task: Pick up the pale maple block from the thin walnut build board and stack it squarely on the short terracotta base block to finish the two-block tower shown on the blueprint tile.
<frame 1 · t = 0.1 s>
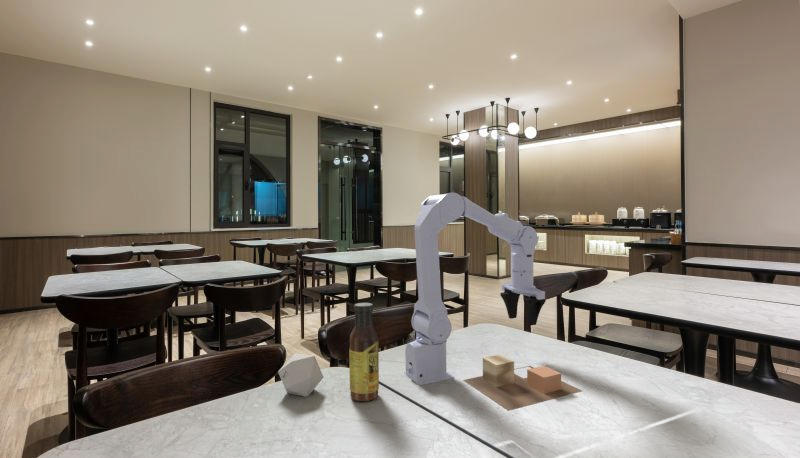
hand: (522, 321, 107), 10 cm above the table, fingers open, 7 cm apart
build board: (520, 387, 89), on the table
maple block: (498, 381, 92), resting on build board
sauce bottle: (364, 397, 86), on the table
terracotta base block: (544, 387, 88), resting on build board
die: (301, 393, 88), on the table
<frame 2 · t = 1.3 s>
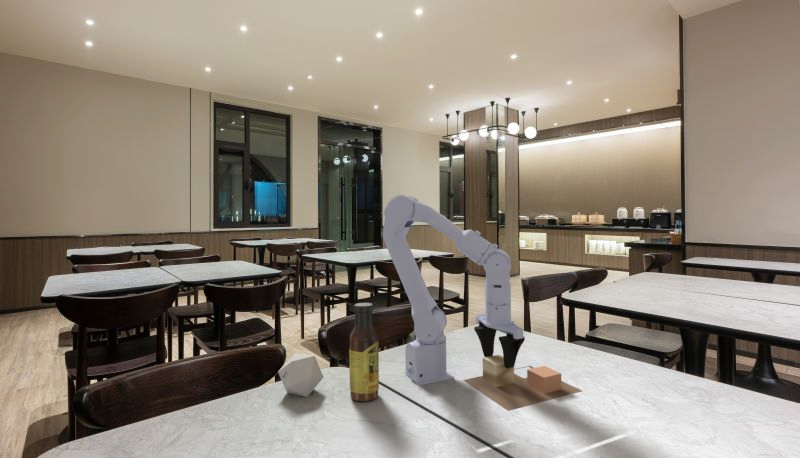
hand: (498, 361, 91), 5 cm above the table, fingers open, 7 cm apart
nothing on the table moved.
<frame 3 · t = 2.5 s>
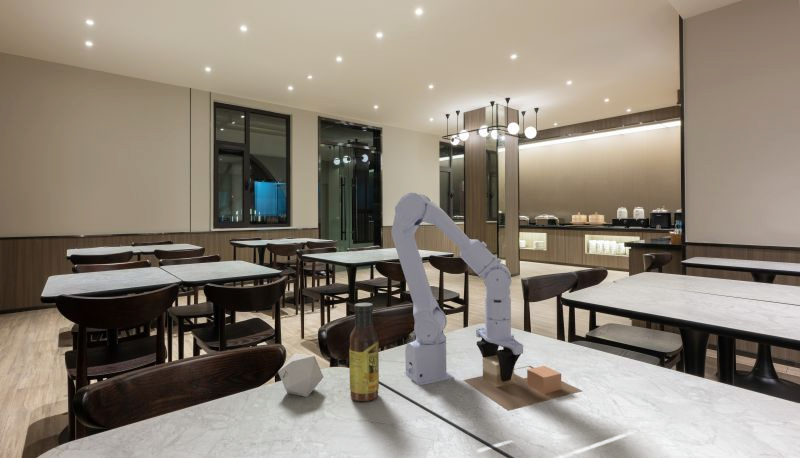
hand: (498, 375, 92), 2 cm above the table, fingers closed on maple block, 5 cm apart
maple block: (498, 381, 92), resting on build board, touching gripper
everything else where it was.
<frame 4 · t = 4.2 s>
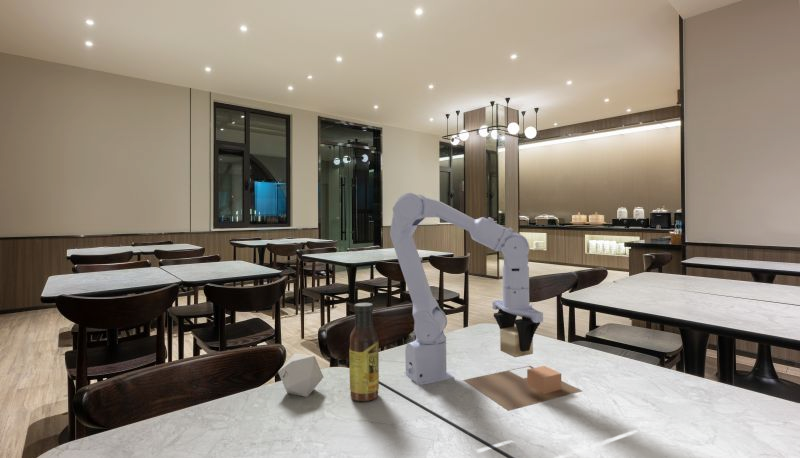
hand: (516, 346, 90), 9 cm above the table, fingers closed on maple block, 5 cm apart
maple block: (516, 352, 90), point 8 cm above the table, touching gripper
everything else where it was.
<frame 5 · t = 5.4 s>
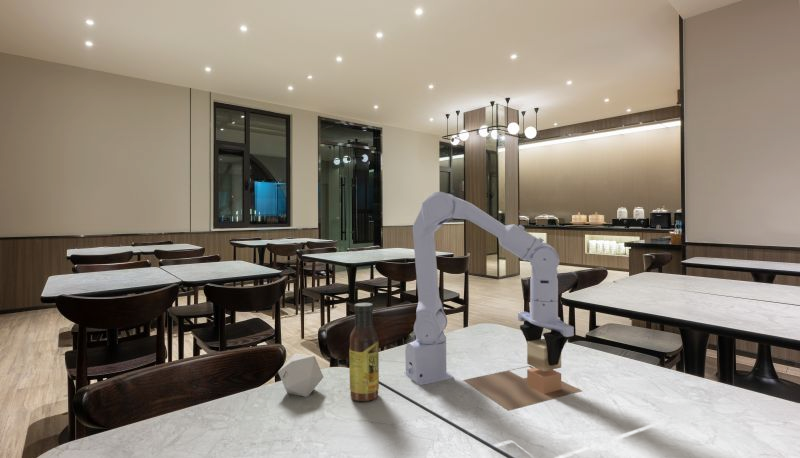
hand: (543, 360, 88), 6 cm above the table, fingers closed on maple block, 5 cm apart
maple block: (544, 365, 88), point 5 cm above the table, touching gripper
everything else where it was.
when the fingers open (6 cm above the table, at t = 5.9 s): maple block drops 1 cm, resting on terracotta base block.
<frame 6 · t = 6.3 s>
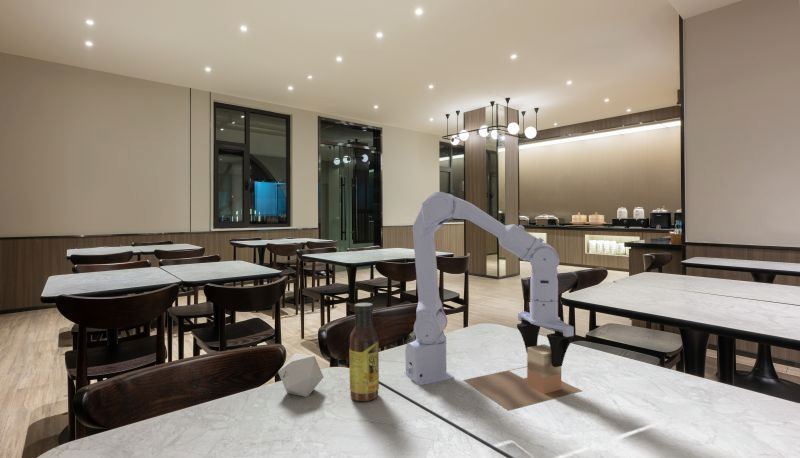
hand: (544, 360, 88), 6 cm above the table, fingers open, 7 cm apart
maple block: (544, 371, 88), point 4 cm above the table, touching terracotta base block
terracotta base block: (544, 387, 88), resting on build board, touching maple block
everything else where it was.
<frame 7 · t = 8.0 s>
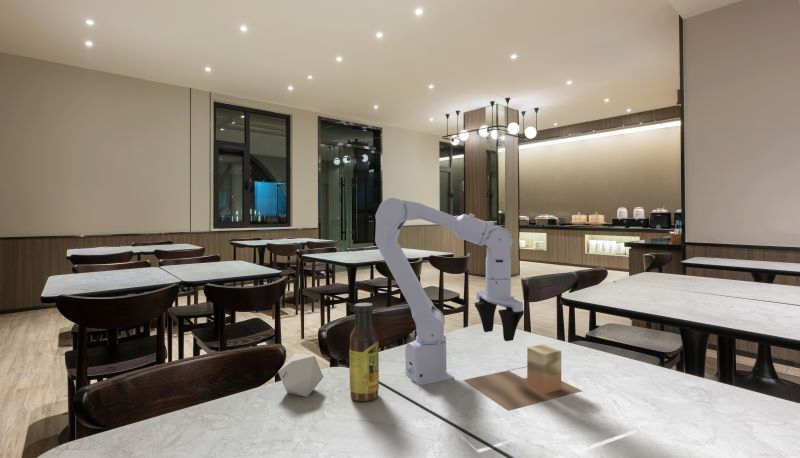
hand: (498, 335, 93), 10 cm above the table, fingers open, 7 cm apart
nothing on the table moved.
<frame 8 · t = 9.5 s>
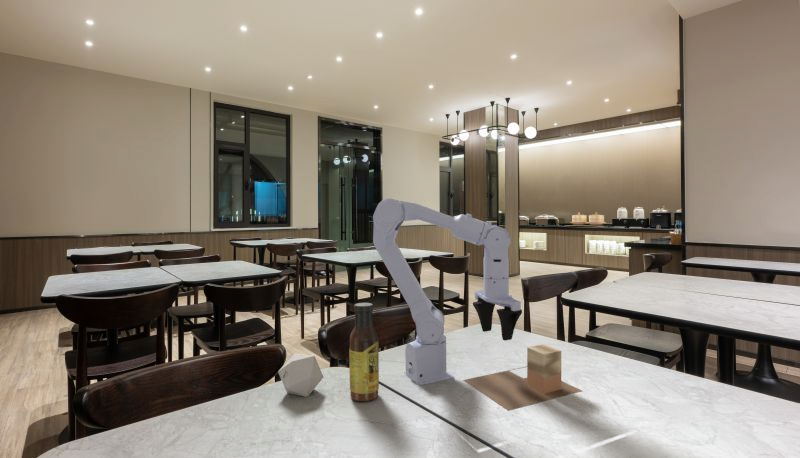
hand: (496, 335, 94), 10 cm above the table, fingers open, 7 cm apart
nothing on the table moved.
at the end: maple block 0.0 cm off-centre on the terracotta base block, point 3.5 cm above the terracotta base block's base; maple block tilted 0°; the gripper is holding nothing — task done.
